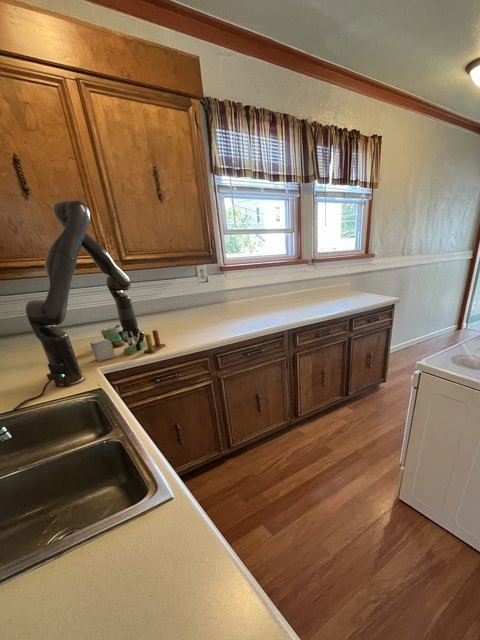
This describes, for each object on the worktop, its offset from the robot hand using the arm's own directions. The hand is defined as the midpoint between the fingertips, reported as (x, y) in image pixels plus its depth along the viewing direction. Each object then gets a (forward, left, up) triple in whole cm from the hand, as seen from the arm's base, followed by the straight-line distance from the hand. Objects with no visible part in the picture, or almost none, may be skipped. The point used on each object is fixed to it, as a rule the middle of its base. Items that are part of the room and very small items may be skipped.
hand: (136, 350), depth 170 cm
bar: (0, 0, 0) cm, 0 cm away
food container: (+6, +14, 0) cm, 15 cm away
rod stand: (+3, -9, 0) cm, 9 cm away
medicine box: (-13, +8, 0) cm, 15 cm away
